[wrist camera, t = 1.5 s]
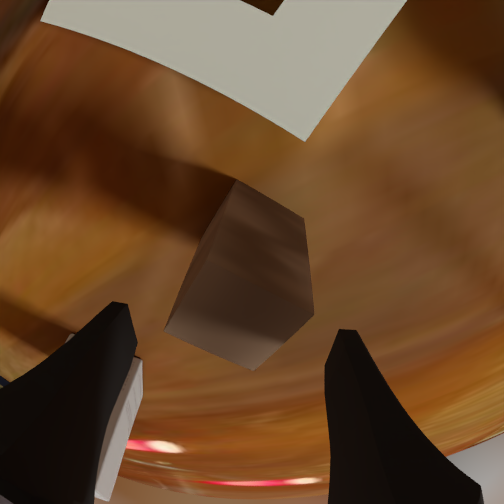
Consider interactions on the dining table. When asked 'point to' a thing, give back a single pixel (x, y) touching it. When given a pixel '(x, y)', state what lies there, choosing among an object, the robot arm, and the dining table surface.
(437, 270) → the dining table surface
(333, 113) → the dining table surface
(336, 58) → the socket block
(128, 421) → the supplement box
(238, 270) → the peg
